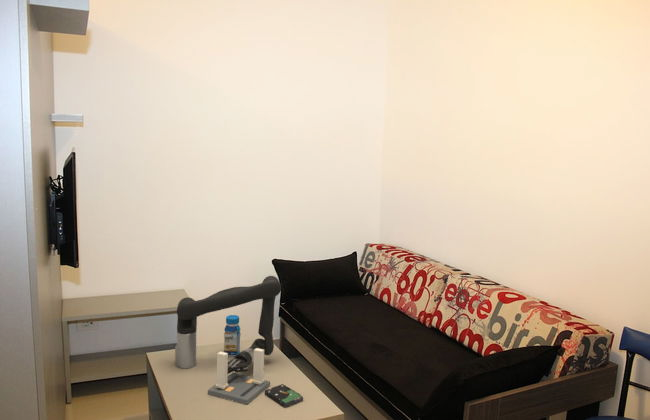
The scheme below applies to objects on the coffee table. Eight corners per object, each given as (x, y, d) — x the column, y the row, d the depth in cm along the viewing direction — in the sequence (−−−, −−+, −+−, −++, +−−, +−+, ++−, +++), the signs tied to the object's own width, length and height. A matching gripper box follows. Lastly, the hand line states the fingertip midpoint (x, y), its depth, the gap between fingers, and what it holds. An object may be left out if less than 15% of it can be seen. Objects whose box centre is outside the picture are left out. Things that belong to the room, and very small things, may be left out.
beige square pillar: (215, 387, 233) (215, 353, 231) (220, 383, 236) (220, 350, 234) (223, 389, 231) (224, 355, 229) (228, 385, 234) (229, 352, 232)
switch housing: (207, 394, 231) (207, 389, 231) (233, 376, 249) (233, 372, 249) (247, 404, 223) (247, 400, 223) (270, 385, 241) (270, 381, 241)
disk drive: (264, 396, 233) (285, 409, 222) (264, 390, 232) (285, 402, 222) (282, 389, 240) (303, 401, 229) (282, 383, 239) (303, 395, 229)
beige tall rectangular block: (251, 382, 238) (252, 350, 236) (256, 379, 241) (256, 347, 239) (260, 384, 237) (261, 352, 235) (264, 381, 240) (265, 349, 238)
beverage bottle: (243, 354, 275) (244, 317, 273) (230, 358, 269) (230, 320, 266) (233, 349, 281) (234, 313, 278) (220, 353, 275) (221, 316, 272)
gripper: (234, 348, 253) (212, 361, 237) (258, 353, 248) (237, 367, 232) (233, 363, 254) (212, 377, 238) (257, 368, 249) (237, 383, 233)
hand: (225, 372), depth 235 cm, fingers closed
